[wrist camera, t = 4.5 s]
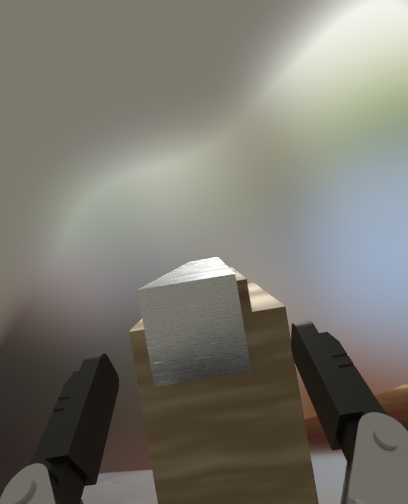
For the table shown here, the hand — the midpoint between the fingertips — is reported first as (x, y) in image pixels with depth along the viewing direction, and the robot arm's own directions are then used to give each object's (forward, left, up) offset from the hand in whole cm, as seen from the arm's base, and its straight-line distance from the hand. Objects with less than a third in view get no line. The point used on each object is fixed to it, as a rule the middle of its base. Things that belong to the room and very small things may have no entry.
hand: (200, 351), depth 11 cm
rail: (-9, -9, -1) cm, 12 cm away
